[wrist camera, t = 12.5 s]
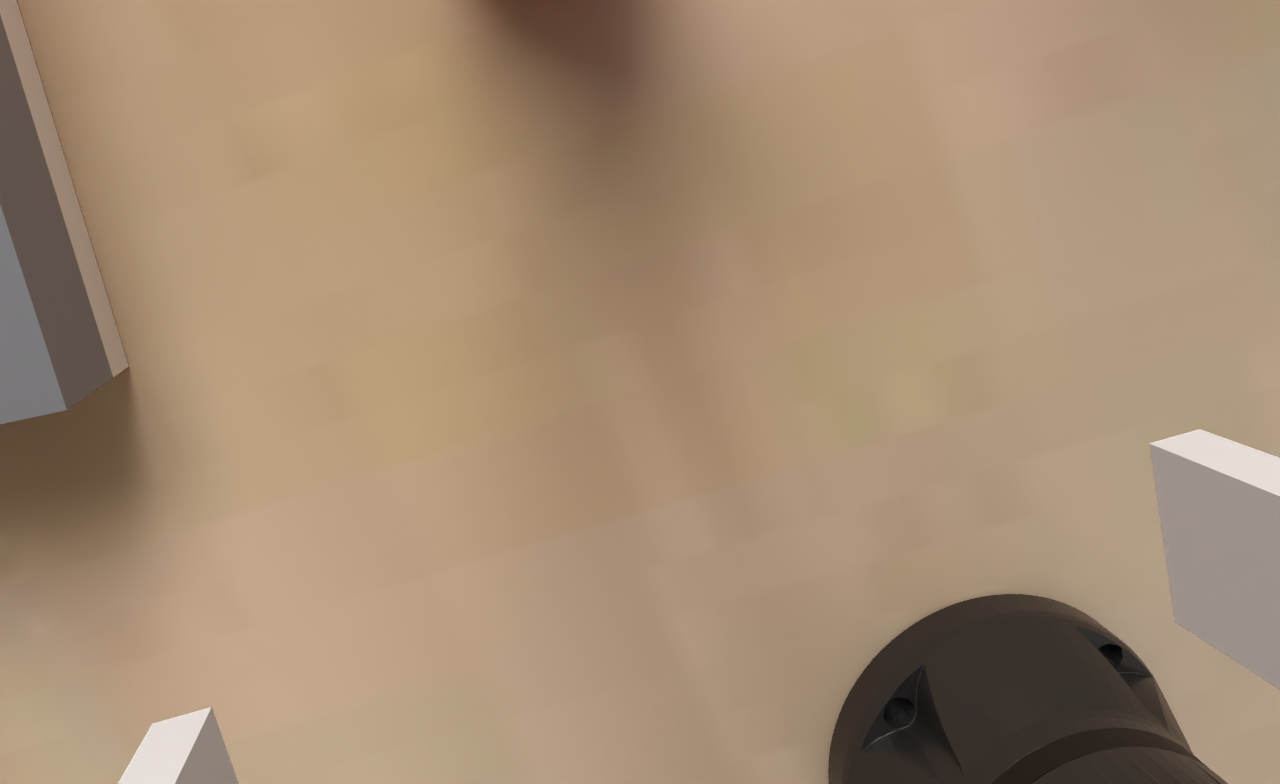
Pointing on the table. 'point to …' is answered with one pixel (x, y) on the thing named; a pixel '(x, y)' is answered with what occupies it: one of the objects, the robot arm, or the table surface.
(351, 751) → the table surface
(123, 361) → the hole block
